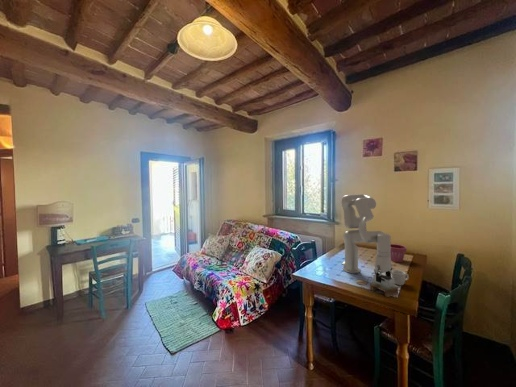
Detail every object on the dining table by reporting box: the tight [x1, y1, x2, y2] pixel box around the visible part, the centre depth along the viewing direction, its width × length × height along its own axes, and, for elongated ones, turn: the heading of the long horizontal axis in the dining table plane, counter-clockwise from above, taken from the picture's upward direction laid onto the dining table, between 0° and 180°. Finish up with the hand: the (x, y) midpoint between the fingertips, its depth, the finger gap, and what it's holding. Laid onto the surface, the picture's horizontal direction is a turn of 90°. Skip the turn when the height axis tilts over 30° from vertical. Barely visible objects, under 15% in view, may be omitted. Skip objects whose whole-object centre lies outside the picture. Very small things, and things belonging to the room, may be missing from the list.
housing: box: [372, 273, 395, 289], centre depth 142 cm, size 10×6×5 cm, turn 28°
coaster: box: [355, 279, 368, 286], centre depth 154 cm, size 7×7×1 cm
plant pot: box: [390, 243, 407, 263], centre depth 197 cm, size 14×14×13 cm
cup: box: [391, 269, 409, 286], centre depth 152 cm, size 11×8×8 cm
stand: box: [369, 281, 399, 298], centre depth 142 cm, size 12×10×4 cm
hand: (383, 280), depth 142 cm, fingers open, 9 cm apart
